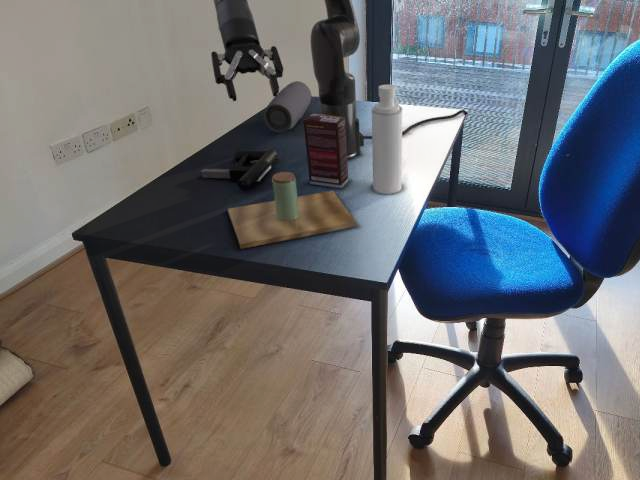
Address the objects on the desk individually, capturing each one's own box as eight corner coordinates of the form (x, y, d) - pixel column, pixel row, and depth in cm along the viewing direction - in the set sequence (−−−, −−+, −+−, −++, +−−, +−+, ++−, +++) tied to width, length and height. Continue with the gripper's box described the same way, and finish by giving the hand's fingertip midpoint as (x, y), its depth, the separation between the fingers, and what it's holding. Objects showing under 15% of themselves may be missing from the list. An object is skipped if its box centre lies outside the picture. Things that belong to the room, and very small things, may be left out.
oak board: (333, 195, 129) (333, 190, 128) (355, 226, 117) (355, 221, 116) (228, 213, 122) (227, 208, 121) (240, 249, 110) (239, 243, 109)
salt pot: (296, 208, 121) (292, 170, 115) (301, 218, 117) (297, 179, 112) (274, 212, 119) (269, 173, 114) (279, 222, 116) (274, 182, 110)
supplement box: (349, 180, 135) (346, 116, 126) (341, 189, 131) (337, 123, 122) (316, 176, 137) (311, 112, 128) (308, 184, 134) (302, 118, 124)
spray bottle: (378, 180, 135) (376, 73, 121) (404, 183, 133) (406, 76, 119) (369, 191, 130) (366, 82, 115) (396, 195, 128) (397, 84, 114)
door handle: (188, 178, 131) (252, 179, 128) (224, 147, 147) (281, 147, 144) (192, 191, 133) (254, 193, 130) (227, 159, 149) (284, 159, 146)
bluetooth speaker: (286, 110, 178) (282, 78, 172) (314, 112, 177) (312, 79, 171) (263, 136, 160) (259, 101, 154) (295, 137, 159) (291, 102, 153)
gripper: (202, 18, 113) (220, 91, 111) (271, 13, 117) (290, 83, 115) (204, 41, 120) (221, 110, 118) (269, 35, 124) (287, 101, 122)
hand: (255, 96), depth 117 cm, fingers open, 8 cm apart
